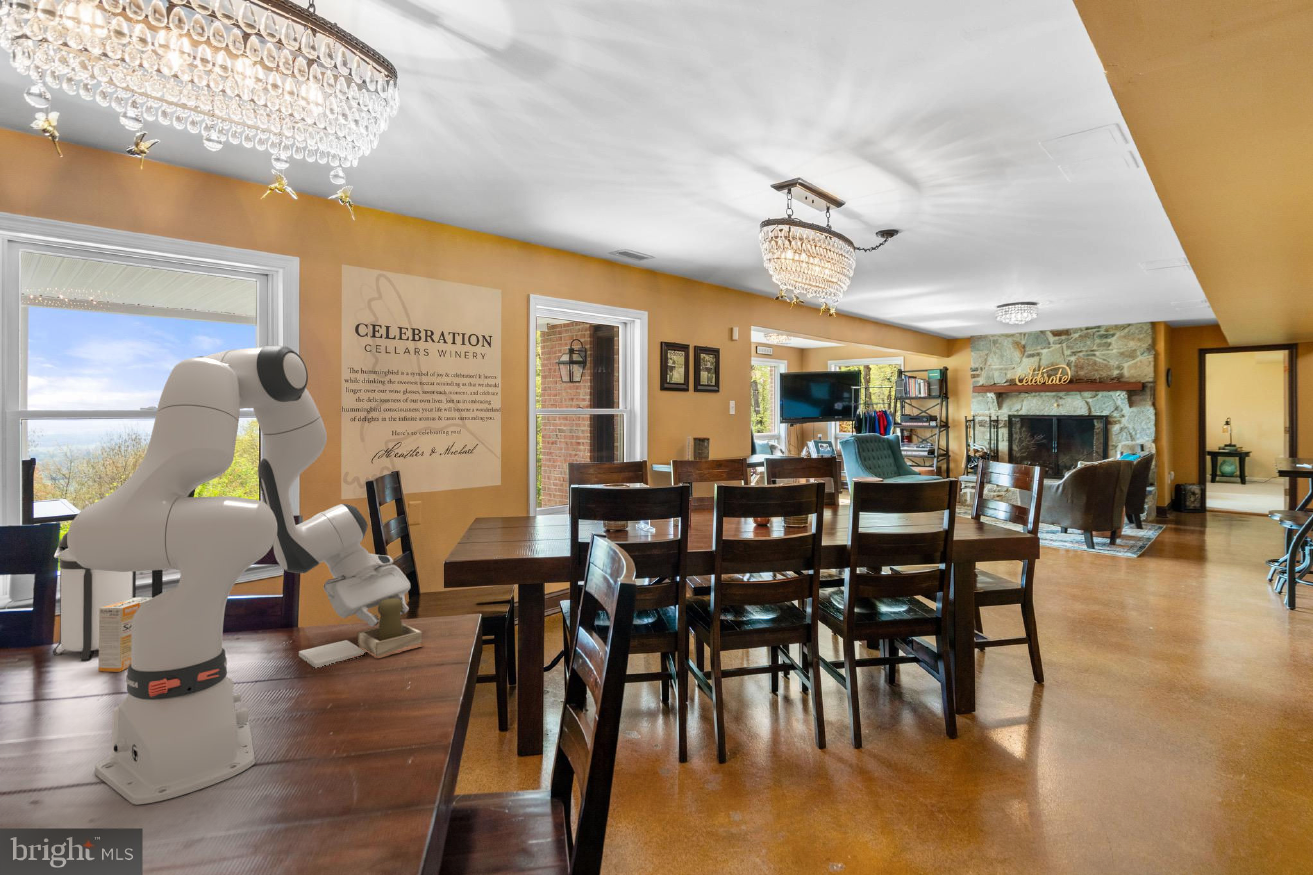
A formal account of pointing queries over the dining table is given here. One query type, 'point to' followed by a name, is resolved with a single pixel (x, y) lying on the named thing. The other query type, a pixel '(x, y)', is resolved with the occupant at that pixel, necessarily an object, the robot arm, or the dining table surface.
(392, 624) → the cork
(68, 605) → the coffee press
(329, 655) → the ceramic tile
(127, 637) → the supplement box
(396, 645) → the frame
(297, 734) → the dining table surface
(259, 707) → the dining table surface
